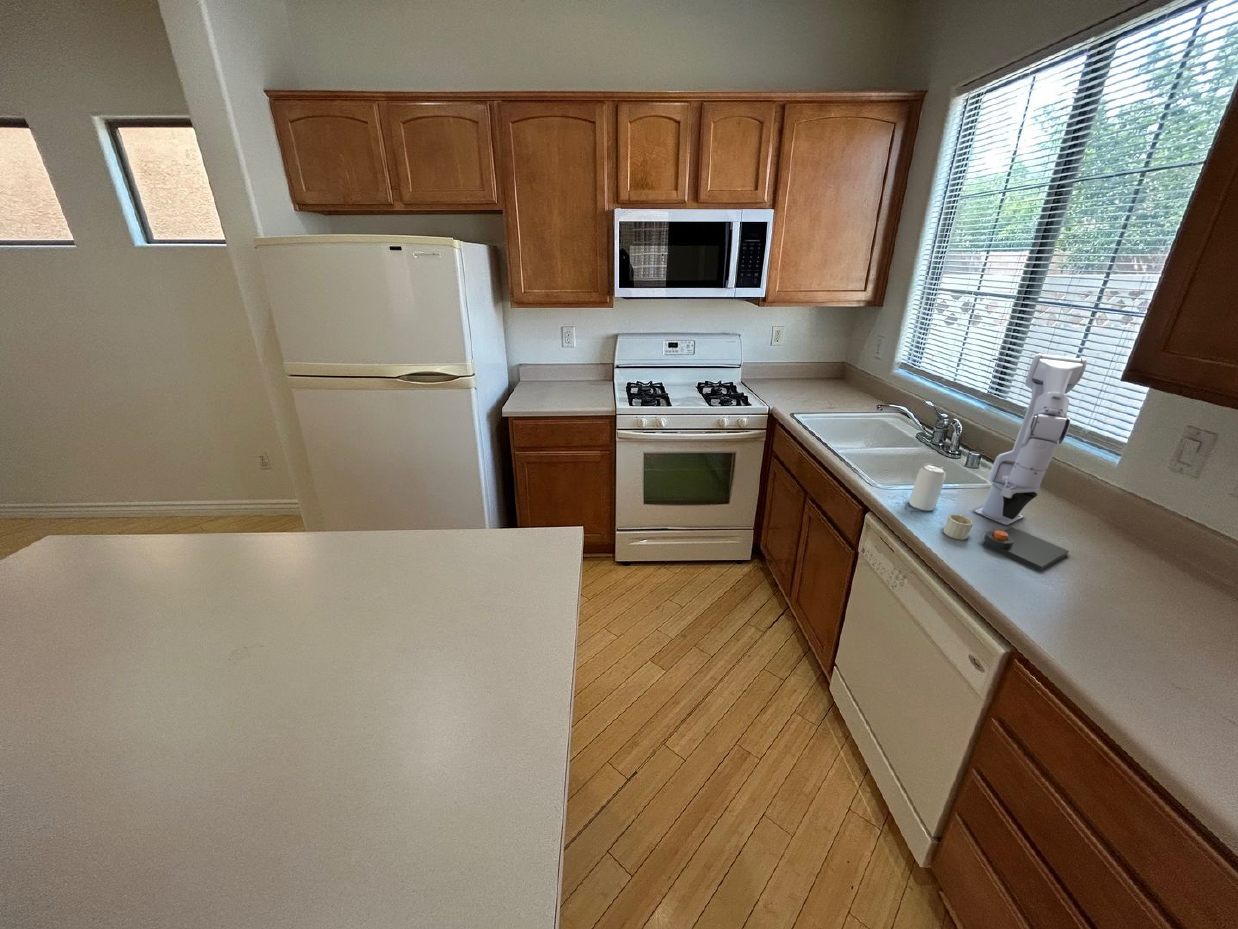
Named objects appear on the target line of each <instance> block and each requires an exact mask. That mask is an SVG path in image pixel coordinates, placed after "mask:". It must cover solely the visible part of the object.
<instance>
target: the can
mask: <svg viewBox="0 0 1238 929" xmlns="http://www.w3.org/2000/svg"><path fill="white" fill-rule="evenodd" d="M946 472H947V470H946V469H945V468H944V467H943V466H940V465H937V464H932V463H924V464H922V466H921V467H920V468H919V470H918V473H917V475H916V478H915V482H914V484H913V488H912V490H911V494H910V497H909V500H908V503H909V505H910V506H911V507H912V508H914V509H916V510H920V511H925V512H931V511H933V510H935V509H936V506H937V503H938V500H939V497H940V496H941V491H942V489H943V486H944V483H945V480H946V477H947V475H946V474H947V473H946Z"/></svg>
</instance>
